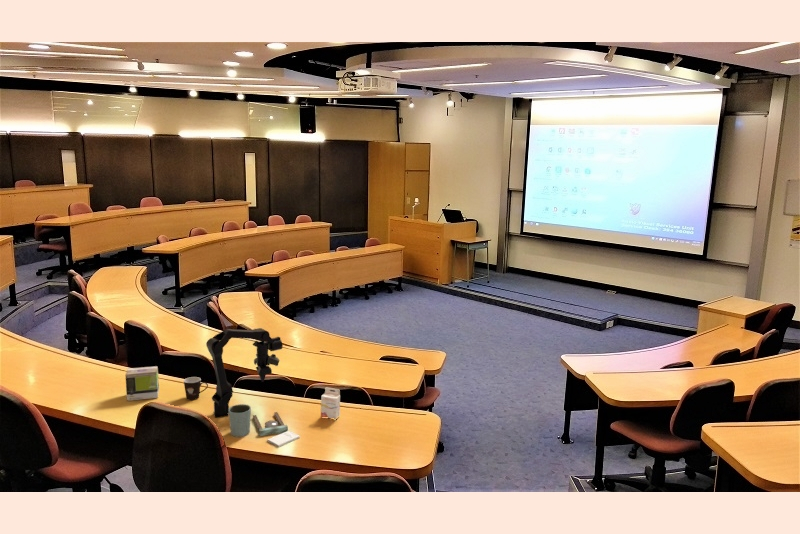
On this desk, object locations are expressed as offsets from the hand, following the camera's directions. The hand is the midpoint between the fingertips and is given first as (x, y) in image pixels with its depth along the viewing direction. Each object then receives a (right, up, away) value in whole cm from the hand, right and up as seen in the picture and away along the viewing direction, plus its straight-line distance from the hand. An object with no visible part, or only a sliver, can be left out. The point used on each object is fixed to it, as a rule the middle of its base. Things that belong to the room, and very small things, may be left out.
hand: (262, 381), depth 296 cm
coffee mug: (-37, -10, +6) cm, 39 cm away
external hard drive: (+18, -20, -36) cm, 45 cm away
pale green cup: (-3, -18, -31) cm, 36 cm away
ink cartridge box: (+37, -16, -11) cm, 42 cm away
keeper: (+10, -17, -26) cm, 33 cm away
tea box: (-65, -9, +6) cm, 66 cm away
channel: (+8, -16, -21) cm, 28 cm away
